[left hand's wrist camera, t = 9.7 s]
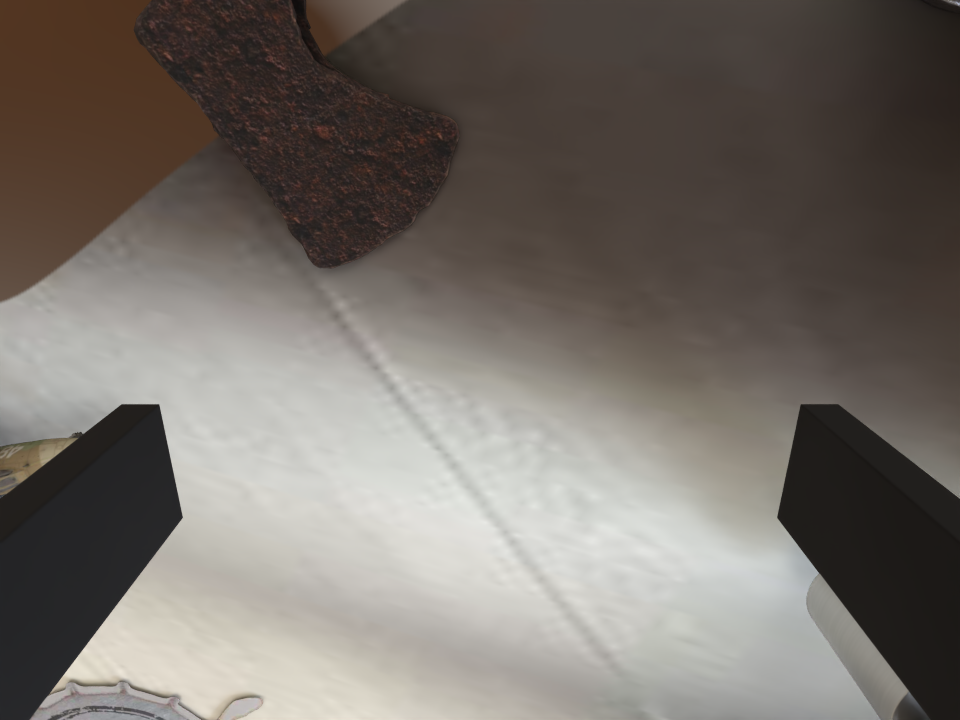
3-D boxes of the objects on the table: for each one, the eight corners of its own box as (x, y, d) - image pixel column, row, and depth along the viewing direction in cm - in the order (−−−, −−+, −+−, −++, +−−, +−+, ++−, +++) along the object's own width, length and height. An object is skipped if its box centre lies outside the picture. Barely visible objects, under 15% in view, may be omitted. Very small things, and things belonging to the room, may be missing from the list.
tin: (785, 600, 49) (864, 722, 39) (865, 534, 47) (971, 645, 37) (850, 647, 51) (942, 775, 41) (930, 586, 49) (1048, 705, 39)
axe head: (517, 144, 38) (345, 308, 39) (480, 143, 46) (336, 281, 46) (294, -154, 30) (79, 55, 31) (292, -98, 38) (119, 71, 38)
